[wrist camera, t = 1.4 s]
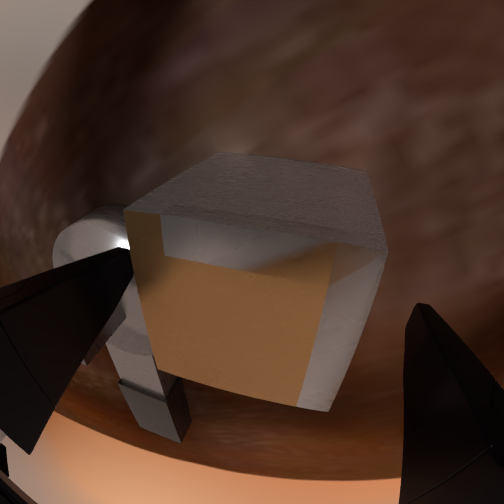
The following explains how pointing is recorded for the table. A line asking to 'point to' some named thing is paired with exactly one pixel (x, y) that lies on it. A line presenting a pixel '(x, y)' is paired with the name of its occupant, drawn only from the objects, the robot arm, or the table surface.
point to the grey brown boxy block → (258, 274)
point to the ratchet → (127, 330)
